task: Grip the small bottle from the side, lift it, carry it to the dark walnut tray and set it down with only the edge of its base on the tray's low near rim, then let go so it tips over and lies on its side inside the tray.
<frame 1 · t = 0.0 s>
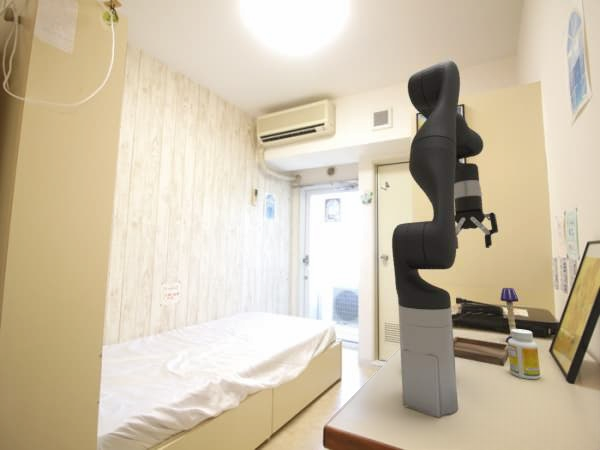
hand: (471, 248, 90), 29 cm above the table, tool pointing down, fingers open, 8 cm apart
toy lamp: (513, 343, 91), on the table
jar: (431, 375, 66), on the table
supplement bottle: (525, 376, 65), on the table
tray: (476, 352, 81), on the table
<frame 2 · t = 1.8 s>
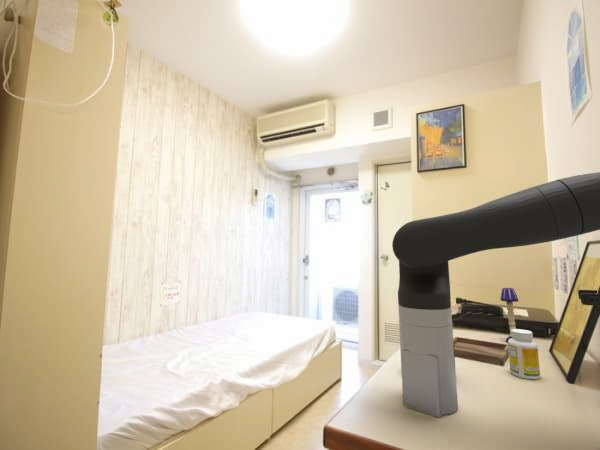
hand: (579, 296, 61), 18 cm above the table, tool horizontal, fingers open, 8 cm apart
nothing on the table moved.
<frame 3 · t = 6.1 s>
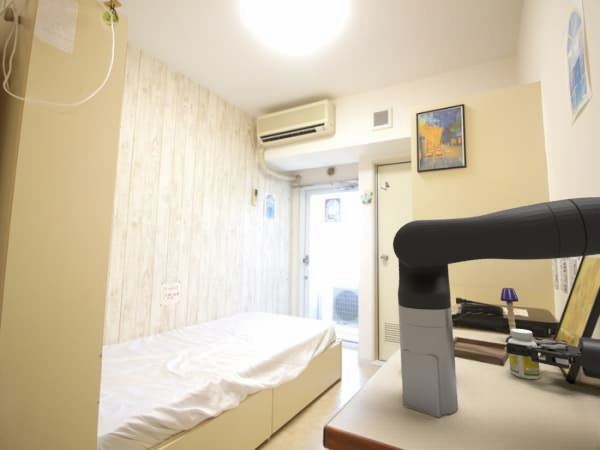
hand: (508, 344, 68), 6 cm above the table, tool horizontal, fingers closed on supplement bottle, 5 cm apart
supplement bottle: (525, 375, 65), on the table, touching gripper
everything else where it was.
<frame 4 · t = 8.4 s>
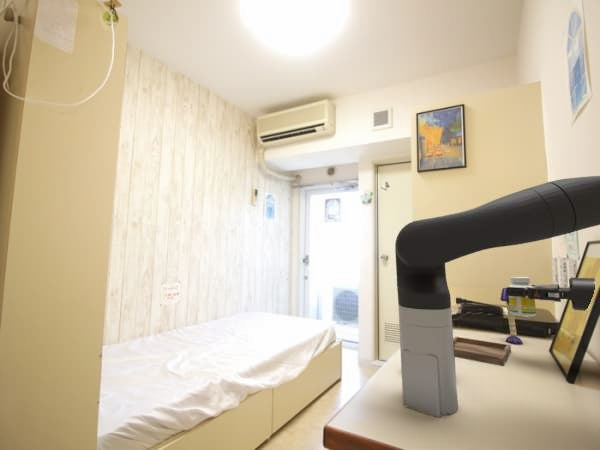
hand: (508, 290, 77), 18 cm above the table, tool horizontal, fingers closed on supplement bottle, 5 cm apart
supplement bottle: (523, 315, 75), point 11 cm above the table, touching gripper
everything else where it was.
when the fingers open (8 cm above the table, at t = 11.1 s): supplement bottle moves 2 cm, resting on tray.
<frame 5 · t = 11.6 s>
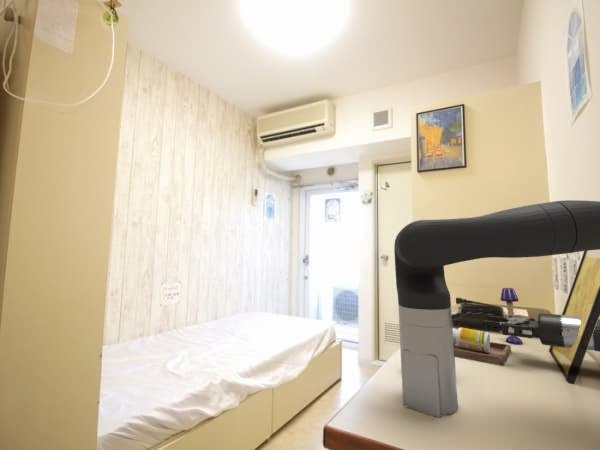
hand: (485, 322, 80), 9 cm above the table, tool horizontal, fingers open, 8 cm apart
supplement bottle: (489, 342, 79), point 3 cm above the table, touching tray
everything else where it was.
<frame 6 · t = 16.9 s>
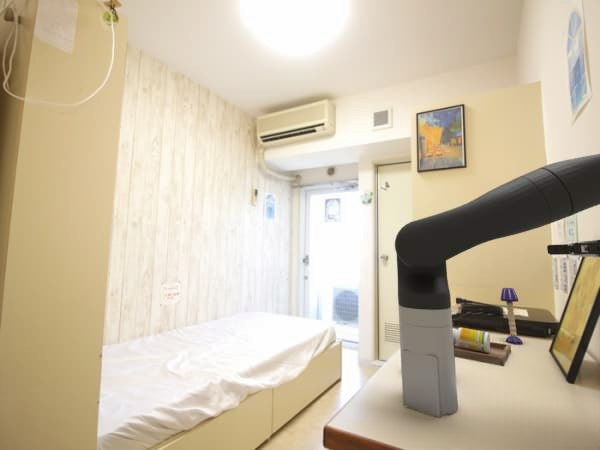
hand: (548, 250, 71), 28 cm above the table, tool horizontal, fingers open, 8 cm apart
nothing on the table moved.
at the end: supplement bottle tilted 87°; supplement bottle inside the target area on the tray (3.3 cm from its centre), point 3.2 cm above the tray's base; the gripper is holding nothing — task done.
